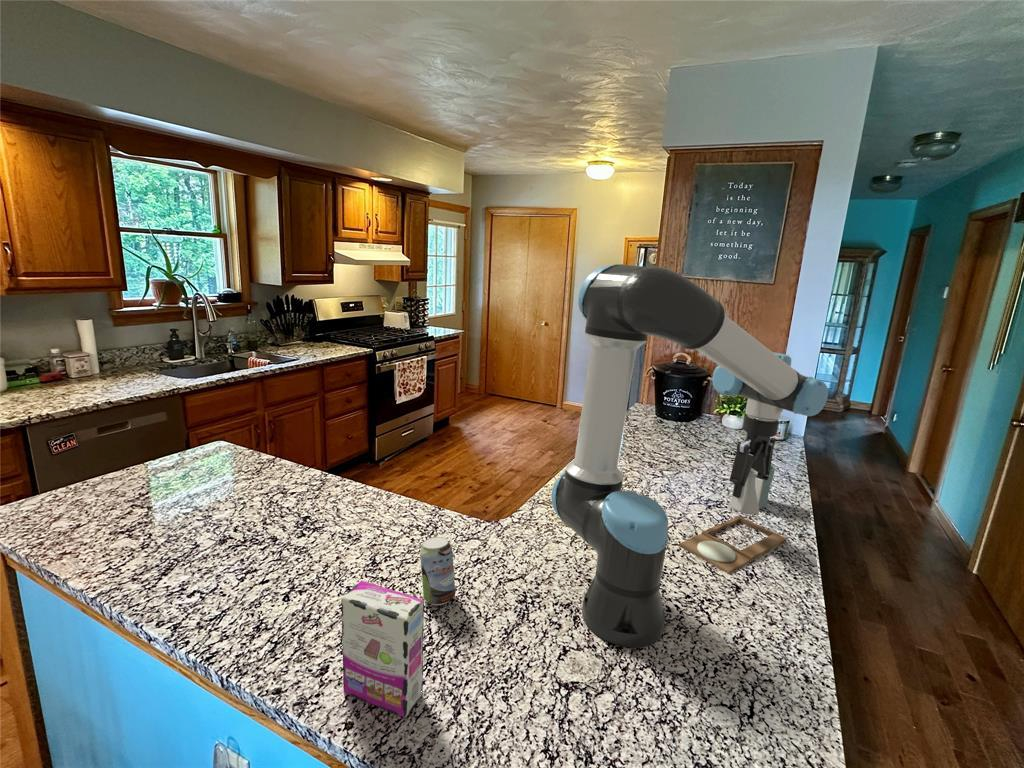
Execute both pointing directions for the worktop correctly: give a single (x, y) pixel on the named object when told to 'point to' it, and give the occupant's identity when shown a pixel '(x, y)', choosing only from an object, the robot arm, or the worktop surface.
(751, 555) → the board
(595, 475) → the robot arm
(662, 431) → the worktop surface
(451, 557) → the beverage can
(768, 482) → the green cup
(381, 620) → the candy bar box
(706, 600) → the worktop surface
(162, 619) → the worktop surface
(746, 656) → the worktop surface
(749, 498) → the flask
